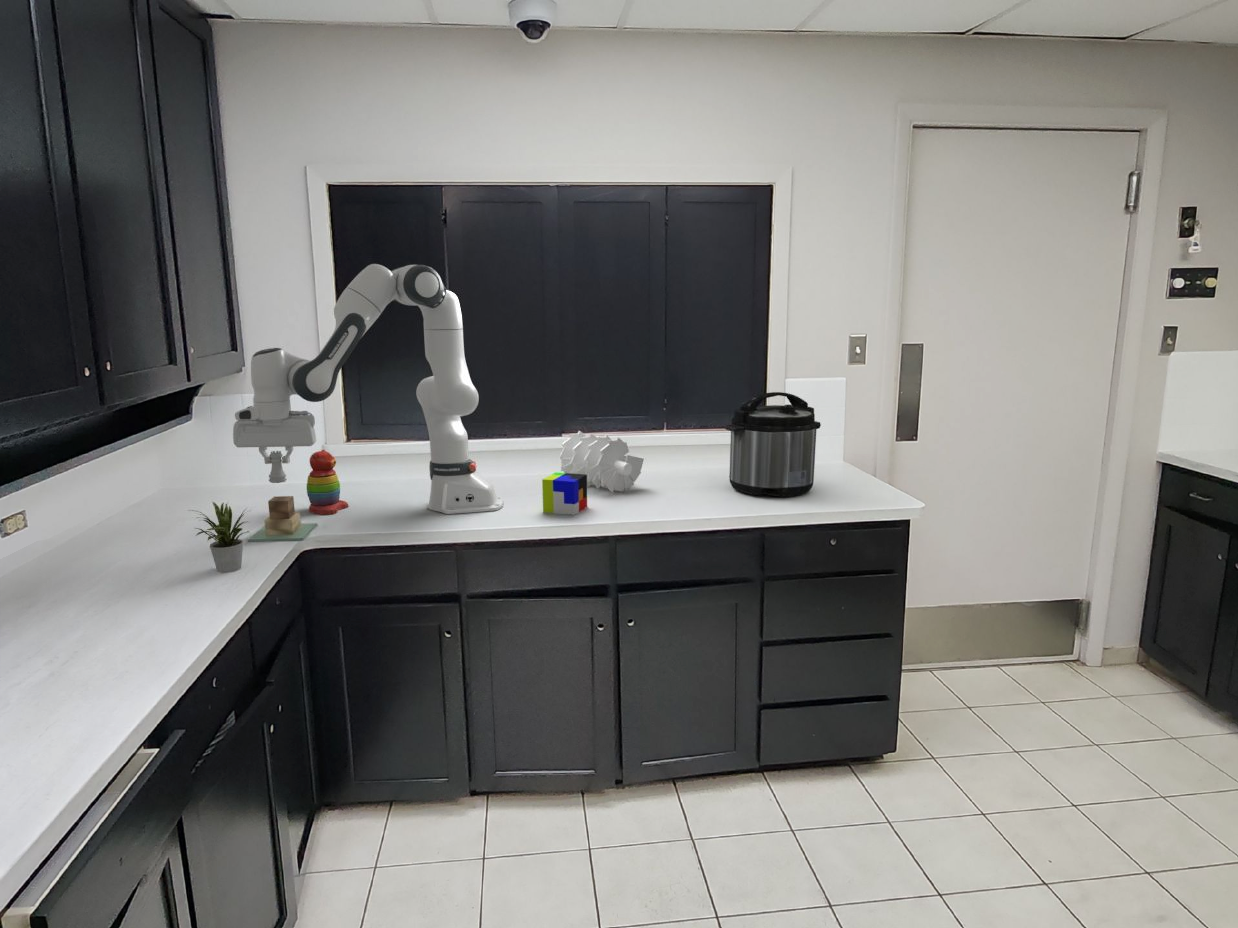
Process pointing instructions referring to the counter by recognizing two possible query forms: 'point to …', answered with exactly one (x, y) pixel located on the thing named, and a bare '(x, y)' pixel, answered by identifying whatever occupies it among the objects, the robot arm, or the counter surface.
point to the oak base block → (282, 525)
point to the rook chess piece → (277, 468)
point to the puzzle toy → (564, 493)
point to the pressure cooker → (773, 447)
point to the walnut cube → (281, 507)
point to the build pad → (298, 535)
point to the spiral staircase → (600, 461)
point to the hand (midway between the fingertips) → (277, 463)
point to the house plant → (225, 540)
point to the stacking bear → (324, 485)
